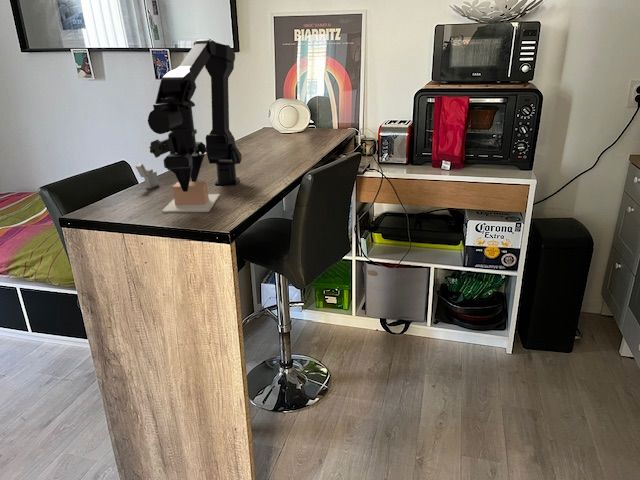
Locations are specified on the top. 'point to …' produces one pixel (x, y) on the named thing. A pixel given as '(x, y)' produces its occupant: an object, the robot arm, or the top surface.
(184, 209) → the mat
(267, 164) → the top surface
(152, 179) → the grey jagged block
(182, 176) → the robot arm
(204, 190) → the tan rectangular block
